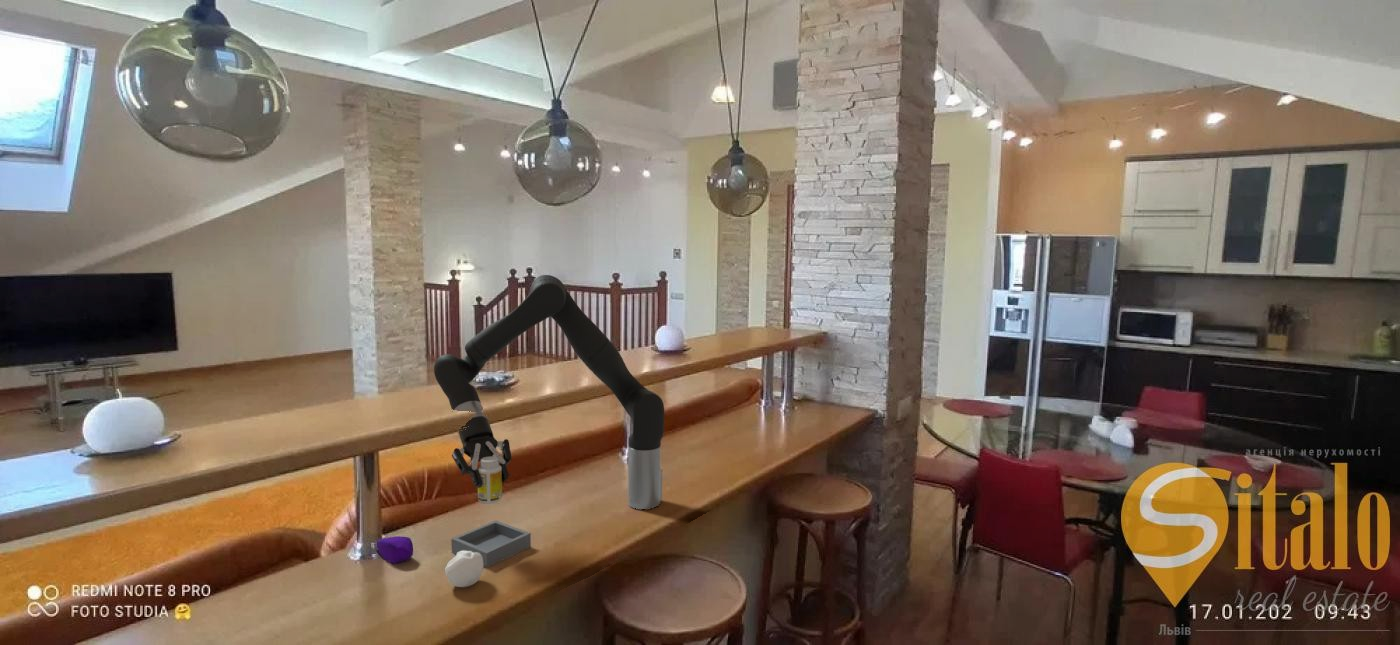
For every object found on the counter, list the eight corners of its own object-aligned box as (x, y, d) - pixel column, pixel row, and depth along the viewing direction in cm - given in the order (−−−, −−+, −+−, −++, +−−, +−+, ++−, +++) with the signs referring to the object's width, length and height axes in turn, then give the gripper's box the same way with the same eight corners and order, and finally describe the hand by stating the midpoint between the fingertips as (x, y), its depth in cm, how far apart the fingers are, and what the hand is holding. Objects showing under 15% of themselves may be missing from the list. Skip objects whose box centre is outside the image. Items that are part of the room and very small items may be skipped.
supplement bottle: (504, 495, 159) (503, 455, 158) (499, 504, 154) (499, 462, 152) (480, 495, 159) (480, 455, 157) (475, 504, 153) (474, 462, 152)
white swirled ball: (472, 572, 146) (471, 539, 145) (491, 583, 141) (491, 550, 141) (439, 586, 140) (438, 552, 139) (457, 598, 135) (456, 563, 134)
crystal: (383, 529, 159) (419, 538, 151) (385, 548, 159) (421, 559, 151) (364, 536, 155) (400, 546, 147) (366, 556, 155) (402, 567, 147)
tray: (496, 533, 166) (495, 520, 166) (530, 546, 159) (530, 533, 159) (451, 552, 156) (451, 538, 155) (486, 567, 148) (486, 553, 148)
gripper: (446, 420, 155) (467, 482, 147) (504, 411, 164) (526, 469, 157) (439, 436, 159) (458, 497, 152) (495, 426, 169) (516, 484, 161)
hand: (492, 483), depth 154 cm, fingers closed on supplement bottle, 5 cm apart
